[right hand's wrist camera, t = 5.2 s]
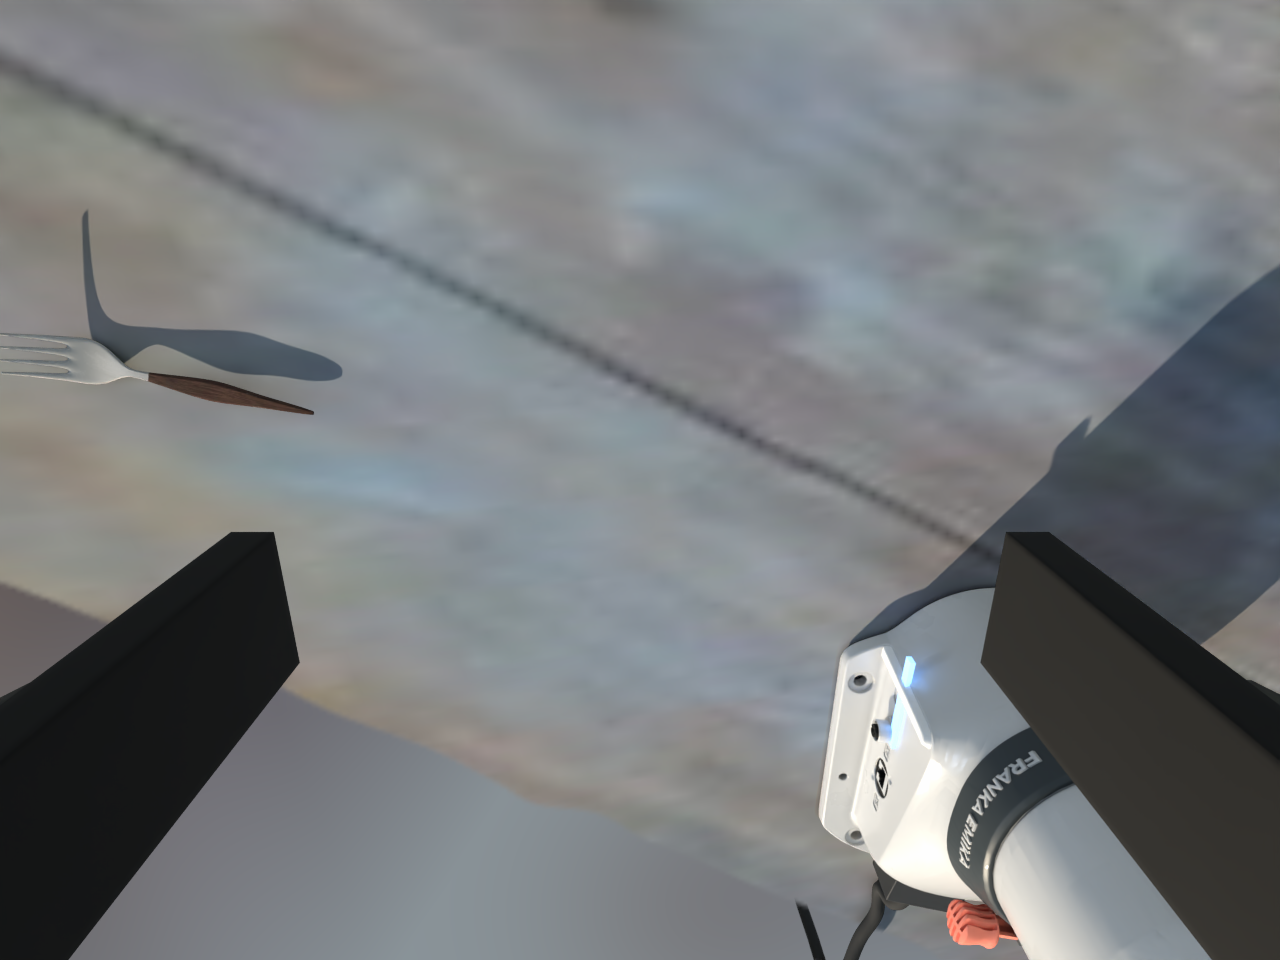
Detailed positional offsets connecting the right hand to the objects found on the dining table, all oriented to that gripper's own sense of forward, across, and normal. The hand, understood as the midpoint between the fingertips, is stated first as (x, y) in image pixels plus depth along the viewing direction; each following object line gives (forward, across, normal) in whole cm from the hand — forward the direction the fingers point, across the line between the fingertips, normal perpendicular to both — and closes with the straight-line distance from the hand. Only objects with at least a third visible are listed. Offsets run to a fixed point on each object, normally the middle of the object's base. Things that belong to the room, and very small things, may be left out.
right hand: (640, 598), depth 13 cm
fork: (+28, -26, -2) cm, 38 cm away
